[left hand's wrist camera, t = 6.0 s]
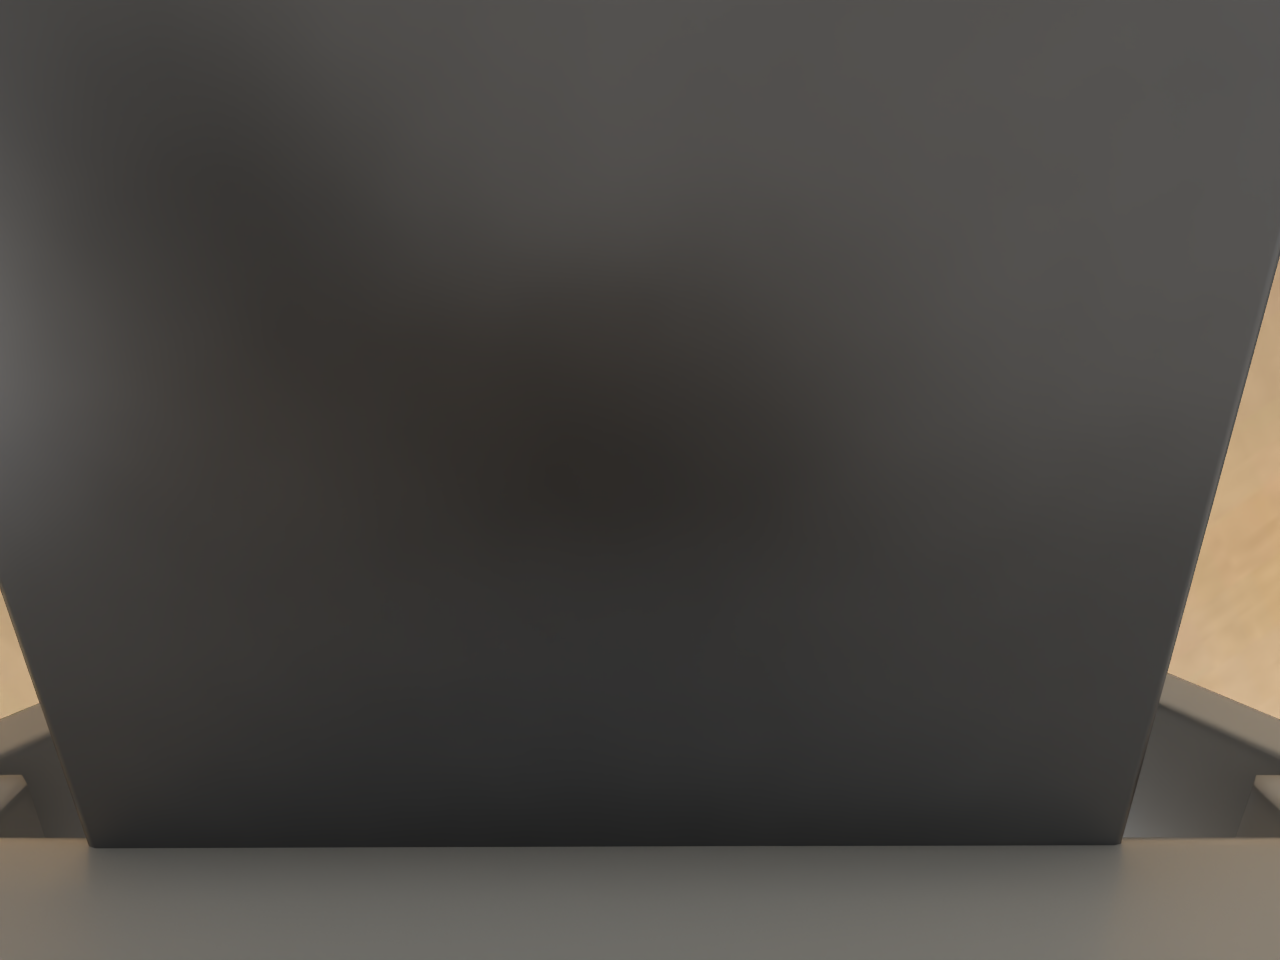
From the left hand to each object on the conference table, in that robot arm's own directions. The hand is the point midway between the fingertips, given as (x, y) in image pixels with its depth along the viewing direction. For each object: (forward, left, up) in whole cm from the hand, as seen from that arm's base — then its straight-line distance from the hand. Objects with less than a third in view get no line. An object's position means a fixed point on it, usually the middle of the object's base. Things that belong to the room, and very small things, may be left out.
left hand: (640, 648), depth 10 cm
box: (-5, +8, -8) cm, 13 cm away
